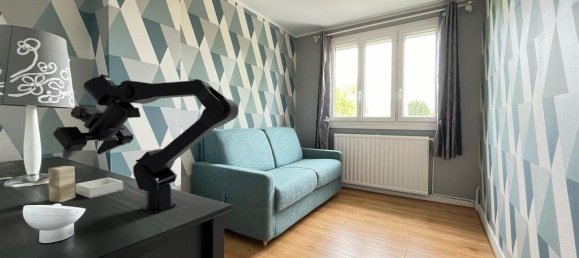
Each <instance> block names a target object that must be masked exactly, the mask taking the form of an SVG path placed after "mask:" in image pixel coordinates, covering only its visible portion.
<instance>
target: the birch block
mask: <svg viewBox="0 0 579 258" xmlns="http://www.w3.org/2000/svg"><path fill="white" fill-rule="evenodd" d="M75 167H76V166H73V165H72V166H71V165H61V166H55V167H50V168H47V169H48V170H47V172H48V173H47V174H48V197H49V198H48V199H49V201H48V202H53V203H61V202H66V201H69V200H73V199H75V198H76V177H75V175H76V171H75Z"/></svg>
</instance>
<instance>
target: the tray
mask: <svg viewBox="0 0 579 258" xmlns="http://www.w3.org/2000/svg"><path fill="white" fill-rule="evenodd" d="M121 191H124V181H123V180H120V179H116V178H111V177H105V178H99V179H94V180H89V181H84V182H78V183H75V194H77V195H80V196H82V197H83V196H84V197H86V198H90V199H92V198H96V197H101V196H105V195H107V194H113V193H117V192H121Z"/></svg>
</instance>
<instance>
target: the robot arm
mask: <svg viewBox="0 0 579 258" xmlns="http://www.w3.org/2000/svg"><path fill="white" fill-rule="evenodd" d="M83 90H85V92H87V94H88V96H90V97H91V98H92V99H93V100H94V101H95V102H96V104H97V105H99V106H101V107H102V106H105V108H104V110H103V111H102V110H100V109H98V108H96V107H92V106H82V105H75V106H74V107H73V108H72V109H71V112H70V116H71V117H72V118H74V119H75V120H79V121H82V122H83V123H84V124H83V126H84V128H85V129H88V132H82V131H81V130H80V129H79V128H78V126H58V127H57V128H56V129H55V130H54V132H52V135H53V136H54V138H55V139H56V140H57V141H58V142H59V144H60V145H61V147H63V150H62V159H63V160H64V161H66V160H69V159H70V158H72V157H74V156H75V155H77V154H78V153H80V152H82V151H83V150H84V148H85V147H86V146H87V144H88V142H96V141H97V142H102V143H101V145H100V146H99V147H98V149H97V151H96V154H97V155H102V154H104V153H107V152H110V151H112V150H113V149H114V150H115V149H116V148H120V147H122V146H124V145H127V144H131V142H132V141H133V140H134V134H133V132H131V131H130V129H129V127H127V126H126V125H125V123H126V122H127V121H128V120H129V119H131V118H133V119H134V118H136V119H137V118H141V112H140V107H135V106H134V104H140V105H145V104H146V105H147V104H149V103H153V102H156V101H158V100H161V99H167V98H168V99H170V98H186V97H196V98H197V99H198V101H199V103H201V105H202V106H203V107H204V109H203V111H202V113H201V114H200V117H199V118H198V119H197V120H196V121H195V122H194V123H193V124H191V125H190V126H189V127H188V128H187V129H186V128H185V130H184V131H183V132H182V133H180V134H179V135H178V136H176V137H175V138H174V139H172V141H171V142H169V143H168V144H167V145H165V146H164V147H163V148H158V149H153V150H148V151H146V152H145V153H144V154H143V155H142V156H141V157H140V158H138V159H136V160H135V162H136V163H134V165H133V167H132V170H133V172H132V173H133V177H134V179H135V181H136V185H137V188H138V190H139V191H140V190H141V191H144V193H145V196H144V197H145V205H143V206H140V207H139V209H140V210H141V211H145V212H147V213H150V214H158V213H161V212H163V211H165V210H170V209H172V208H175V207H177V204H176V203H174V202H172V185H170V184H171V183H175V182H176V179H177V177H178V174H177V173H176V172H175V171H174V170H173V169H172V167H173V165H174V164H175V161H176V160H177V159H178V158H180V157H181V156H182V155H183V154H185V153H186V152H188V151H189V150H190V149H191V148H192V147H193V146H195V144H197V143H198V142H200V141H201V140H202V139H203V138H204V137H206V136H207V135H208V134H209V133H210V132H211V131H214V130H215V129H217V128H220V127H222V126H224V125H226V124H228V123H230V122H232V121H233V120H235V119H236V118H237V117H238V116H239V106H238V104H237V103H236V102H235V101H234V100H232V99H228V98H227V97H225V96H224V95H223V94H222V93H220V92H219V91H217V90H216V88H214V87H213V86H212V85H211V84H210V83H209V82H208V81H206V80H202V79H198V78H197V79H193V80H183V81H171V82H169V81H168V82H157V83H156V82H155V83H150V82H144V81H135V80H123V81H122V82H120V84H117V85H116V83H115V82H114V81H113V80H112V78H111V77H110V76H109V75H108V74H103V73H101V74H100V75H99V76H96V77H92V78H91V79H89V80H86V81H85V82H84V84H83Z"/></svg>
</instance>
